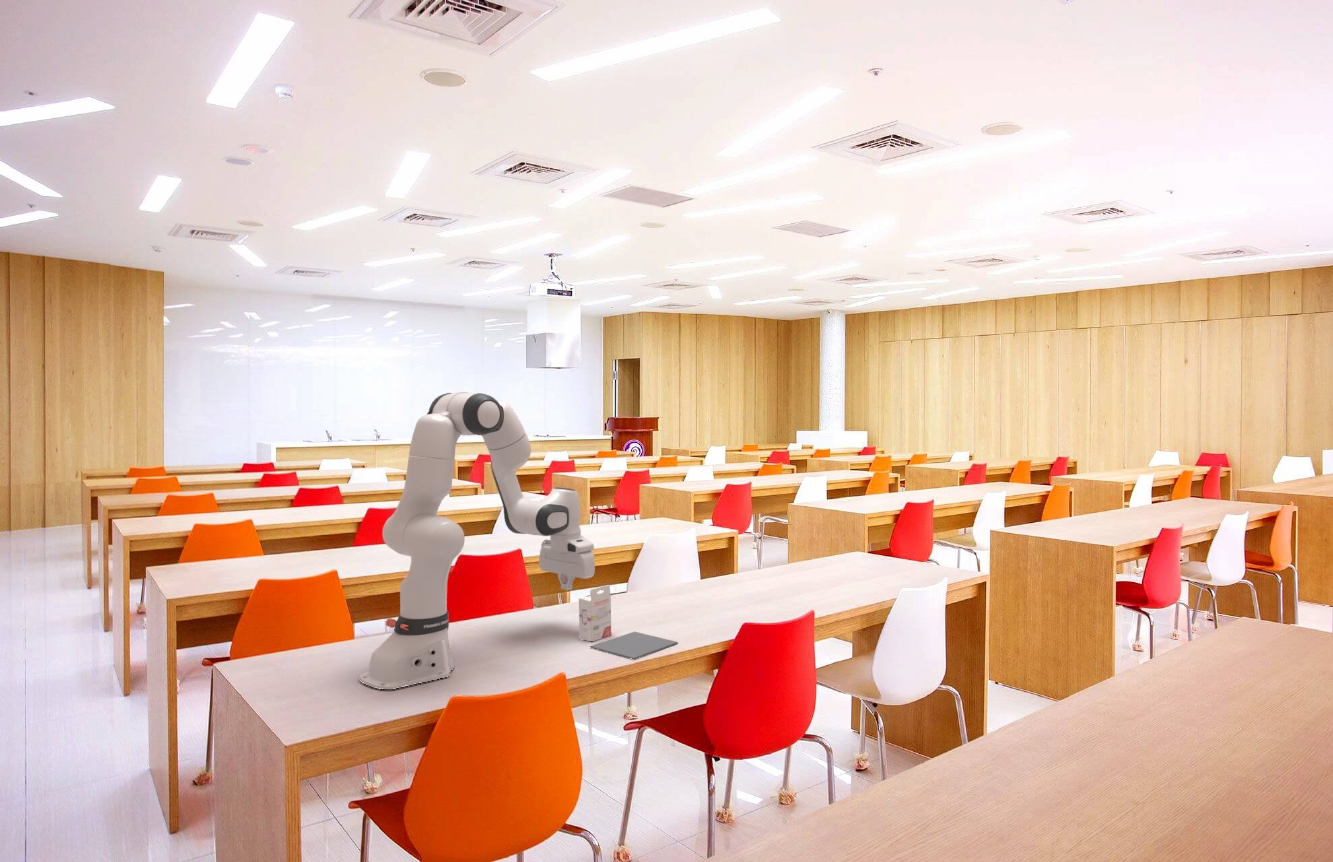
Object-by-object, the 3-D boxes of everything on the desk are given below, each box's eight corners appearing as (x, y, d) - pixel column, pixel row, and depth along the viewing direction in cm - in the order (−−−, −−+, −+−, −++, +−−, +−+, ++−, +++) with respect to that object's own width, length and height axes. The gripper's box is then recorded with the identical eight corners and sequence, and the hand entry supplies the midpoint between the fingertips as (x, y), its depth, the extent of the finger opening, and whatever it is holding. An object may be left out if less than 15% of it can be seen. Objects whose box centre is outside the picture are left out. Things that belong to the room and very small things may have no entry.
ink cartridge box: (598, 632, 235) (598, 581, 235) (611, 635, 232) (611, 584, 232) (578, 639, 228) (577, 587, 228) (591, 642, 225) (591, 589, 225)
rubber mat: (634, 659, 210) (634, 658, 210) (590, 648, 220) (590, 646, 220) (677, 643, 224) (677, 642, 224) (634, 633, 234) (634, 631, 234)
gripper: (533, 540, 241) (534, 586, 242) (582, 548, 228) (583, 596, 229) (549, 537, 246) (550, 582, 247) (598, 544, 233) (598, 592, 234)
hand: (566, 589), depth 238 cm, fingers closed
